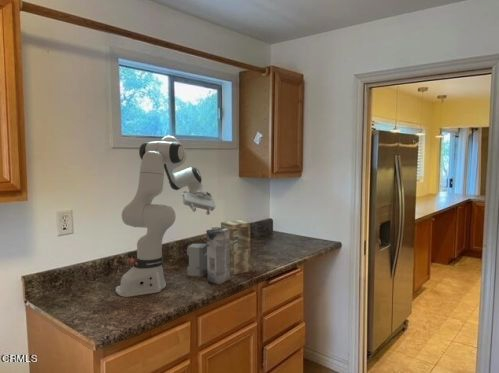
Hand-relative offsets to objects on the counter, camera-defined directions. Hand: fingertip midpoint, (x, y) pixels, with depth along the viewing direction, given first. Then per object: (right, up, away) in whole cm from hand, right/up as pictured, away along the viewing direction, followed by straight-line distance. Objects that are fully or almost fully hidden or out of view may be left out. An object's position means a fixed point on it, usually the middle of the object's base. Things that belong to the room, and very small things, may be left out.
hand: (201, 212), depth 215 cm
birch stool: (+20, -30, -14) cm, 39 cm away
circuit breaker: (+3, -31, -20) cm, 37 cm away
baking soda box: (+17, -27, +24) cm, 40 cm away
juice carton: (+12, -32, -31) cm, 46 cm away
